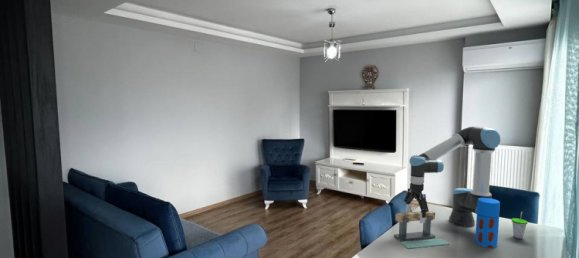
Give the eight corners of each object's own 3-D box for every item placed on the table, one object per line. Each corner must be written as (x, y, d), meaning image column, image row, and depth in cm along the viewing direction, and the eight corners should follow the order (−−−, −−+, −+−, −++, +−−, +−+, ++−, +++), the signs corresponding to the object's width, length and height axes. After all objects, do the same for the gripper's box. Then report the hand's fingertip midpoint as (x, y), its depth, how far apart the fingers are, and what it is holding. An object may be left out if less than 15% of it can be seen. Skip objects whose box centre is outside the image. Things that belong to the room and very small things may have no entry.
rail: (431, 217, 193) (431, 210, 192) (434, 219, 189) (435, 212, 189) (395, 220, 187) (395, 213, 187) (398, 222, 184) (399, 215, 184)
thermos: (500, 248, 175) (503, 204, 173) (479, 246, 177) (482, 202, 175) (492, 240, 186) (495, 198, 184) (472, 238, 188) (474, 197, 186)
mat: (440, 239, 186) (440, 238, 186) (448, 244, 180) (449, 243, 179) (400, 243, 180) (400, 242, 180) (407, 248, 174) (407, 247, 174)
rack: (427, 233, 195) (428, 212, 194) (435, 237, 188) (436, 216, 187) (393, 236, 190) (394, 215, 189) (400, 241, 183) (401, 219, 182)
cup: (518, 240, 186) (519, 215, 185) (507, 234, 194) (508, 210, 192) (529, 239, 187) (531, 214, 186) (518, 234, 195) (520, 210, 194)
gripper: (399, 178, 198) (397, 211, 199) (424, 189, 174) (422, 226, 175) (410, 177, 199) (408, 211, 201) (436, 188, 175) (434, 226, 177)
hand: (415, 218), depth 188 cm, fingers open, 13 cm apart
